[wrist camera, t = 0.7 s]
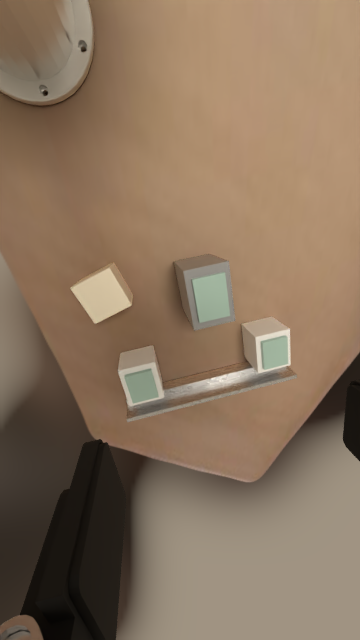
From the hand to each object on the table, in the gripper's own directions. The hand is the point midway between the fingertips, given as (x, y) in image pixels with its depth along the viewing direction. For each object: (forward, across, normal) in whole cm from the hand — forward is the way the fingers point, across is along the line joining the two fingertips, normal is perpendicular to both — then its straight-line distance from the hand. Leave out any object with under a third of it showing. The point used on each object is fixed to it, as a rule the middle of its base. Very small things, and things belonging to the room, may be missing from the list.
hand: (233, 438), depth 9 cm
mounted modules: (+27, -3, +10) cm, 29 cm away
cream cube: (+26, +8, -2) cm, 28 cm away
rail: (+27, -3, +15) cm, 31 cm away
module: (+27, -4, -1) cm, 27 cm away
